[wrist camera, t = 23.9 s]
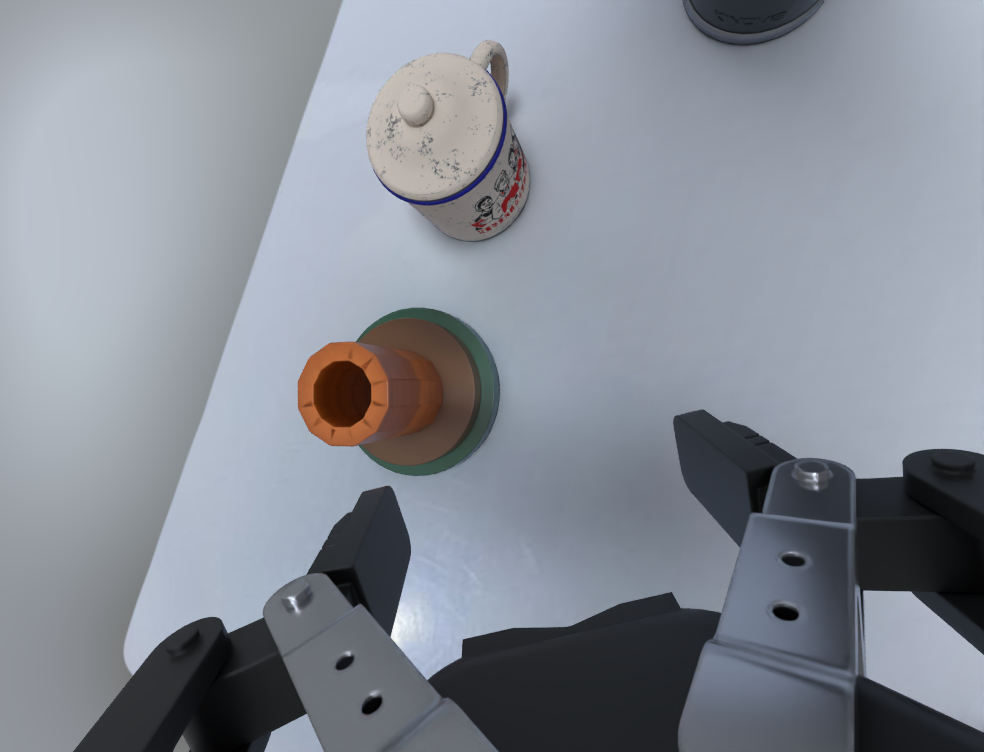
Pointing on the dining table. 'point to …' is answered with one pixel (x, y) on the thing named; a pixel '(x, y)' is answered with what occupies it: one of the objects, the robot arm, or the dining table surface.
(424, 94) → the teacup with lid
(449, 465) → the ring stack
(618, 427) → the dining table surface
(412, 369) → the orange hollow cylinder
